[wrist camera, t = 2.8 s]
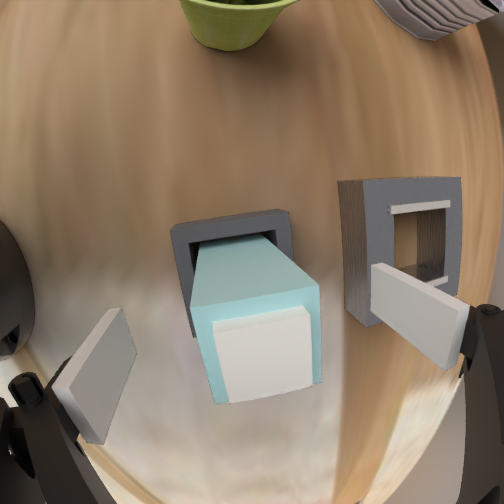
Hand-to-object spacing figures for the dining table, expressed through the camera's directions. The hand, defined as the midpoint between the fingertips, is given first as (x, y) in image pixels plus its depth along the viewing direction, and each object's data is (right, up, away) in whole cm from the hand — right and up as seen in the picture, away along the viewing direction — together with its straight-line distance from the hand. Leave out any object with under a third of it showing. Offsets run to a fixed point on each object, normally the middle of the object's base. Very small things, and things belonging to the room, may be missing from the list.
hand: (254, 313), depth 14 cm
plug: (-1, +2, +8) cm, 8 cm away
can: (+18, +32, +4) cm, 36 cm away
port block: (+13, +4, +10) cm, 16 cm away
